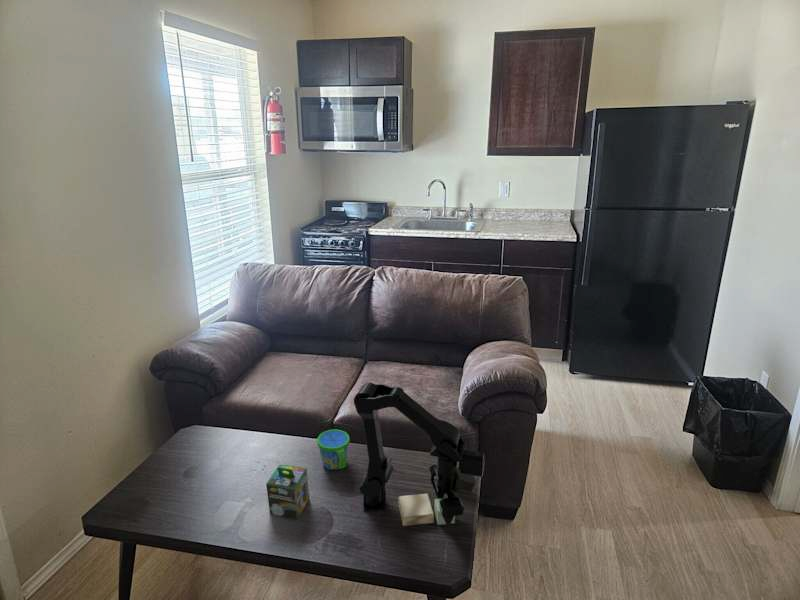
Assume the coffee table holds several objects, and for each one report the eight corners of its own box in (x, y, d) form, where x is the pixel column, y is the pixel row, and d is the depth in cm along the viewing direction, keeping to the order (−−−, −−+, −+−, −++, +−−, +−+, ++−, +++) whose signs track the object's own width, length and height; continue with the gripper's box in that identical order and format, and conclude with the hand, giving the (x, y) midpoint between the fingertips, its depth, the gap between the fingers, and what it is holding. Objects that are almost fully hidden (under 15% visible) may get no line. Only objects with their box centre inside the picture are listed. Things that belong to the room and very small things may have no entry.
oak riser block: (403, 525, 148) (403, 517, 147) (398, 503, 156) (398, 495, 155) (433, 522, 149) (434, 514, 148) (427, 500, 157) (427, 492, 156)
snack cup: (356, 474, 168) (355, 448, 165) (325, 482, 164) (323, 456, 161) (342, 447, 182) (342, 422, 178) (313, 453, 178) (312, 428, 174)
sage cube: (437, 525, 148) (438, 511, 147) (434, 512, 153) (434, 499, 151) (454, 523, 149) (455, 509, 147) (450, 510, 154) (451, 497, 152)
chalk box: (310, 498, 158) (307, 458, 152) (297, 520, 149) (294, 479, 144) (282, 493, 160) (278, 453, 154) (268, 514, 151) (264, 473, 146)
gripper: (484, 488, 137) (480, 533, 143) (465, 445, 155) (462, 487, 160) (443, 492, 136) (441, 538, 141) (429, 448, 153) (427, 491, 158)
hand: (444, 512), depth 150 cm, fingers open, 9 cm apart
